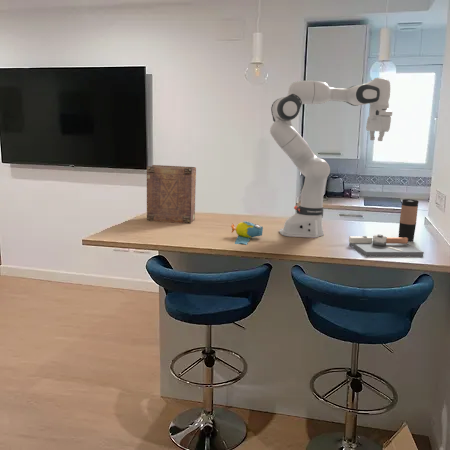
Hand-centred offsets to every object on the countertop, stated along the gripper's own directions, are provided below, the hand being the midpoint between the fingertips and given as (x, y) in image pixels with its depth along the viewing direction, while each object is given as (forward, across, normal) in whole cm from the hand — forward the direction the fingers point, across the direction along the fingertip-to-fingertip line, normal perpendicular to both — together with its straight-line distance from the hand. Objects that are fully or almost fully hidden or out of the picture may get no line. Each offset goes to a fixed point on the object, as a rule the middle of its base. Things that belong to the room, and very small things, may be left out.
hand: (376, 140), depth 238 cm
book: (+48, -30, -102) cm, 116 cm away
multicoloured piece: (+46, +30, -2) cm, 55 cm away
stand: (+48, +32, -5) cm, 58 cm away
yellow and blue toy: (+49, +9, -65) cm, 82 cm away
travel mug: (+48, +12, +15) cm, 52 cm away
